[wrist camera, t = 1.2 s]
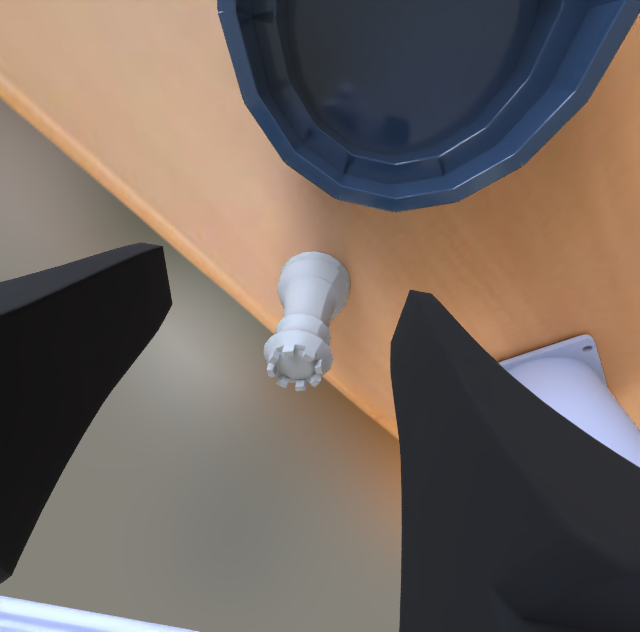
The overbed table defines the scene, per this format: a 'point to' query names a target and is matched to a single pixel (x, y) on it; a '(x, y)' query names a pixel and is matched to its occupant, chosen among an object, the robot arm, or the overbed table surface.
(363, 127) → the bowl
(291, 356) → the rook chess piece
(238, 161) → the overbed table surface
